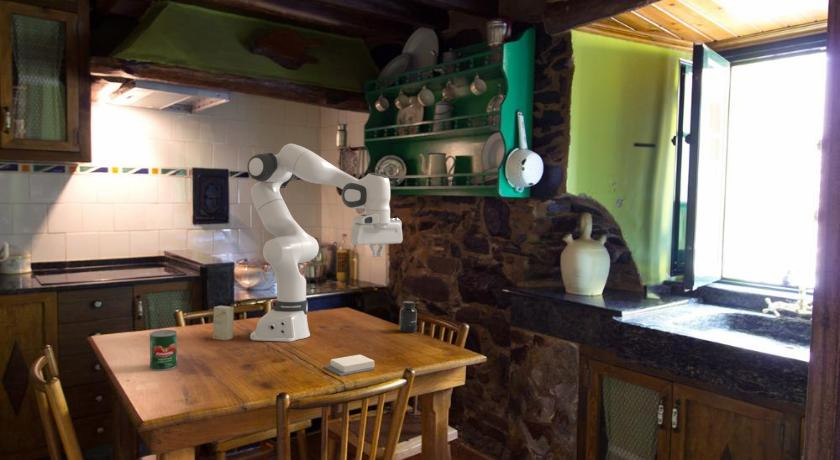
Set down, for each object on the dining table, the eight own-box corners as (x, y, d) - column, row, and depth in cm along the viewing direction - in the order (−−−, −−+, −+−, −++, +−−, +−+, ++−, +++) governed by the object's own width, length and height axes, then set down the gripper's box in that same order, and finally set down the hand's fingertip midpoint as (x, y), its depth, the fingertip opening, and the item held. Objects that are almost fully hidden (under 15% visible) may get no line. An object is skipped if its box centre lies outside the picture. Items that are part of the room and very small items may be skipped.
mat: (340, 376, 184) (340, 374, 183) (323, 367, 192) (323, 366, 192) (374, 369, 191) (374, 368, 191) (356, 361, 199) (356, 360, 199)
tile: (374, 367, 192) (344, 373, 185) (360, 360, 199) (330, 365, 193) (374, 360, 192) (344, 366, 185) (360, 354, 199) (330, 359, 192)
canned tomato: (160, 372, 184) (159, 337, 183) (144, 367, 188) (144, 333, 188) (182, 366, 191) (182, 332, 190) (166, 362, 195) (166, 328, 194)
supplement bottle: (414, 333, 240) (415, 304, 239) (397, 332, 241) (398, 303, 240) (418, 329, 246) (418, 301, 246) (401, 328, 248) (402, 300, 247)
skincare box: (212, 339, 226) (212, 307, 225) (220, 336, 230) (220, 305, 229) (226, 340, 223) (226, 308, 223) (234, 338, 227) (234, 306, 227)
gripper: (396, 217, 224) (396, 254, 225) (348, 218, 212) (348, 257, 213) (406, 218, 219) (405, 256, 220) (358, 219, 207) (357, 259, 208)
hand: (377, 256), depth 216 cm, fingers closed
